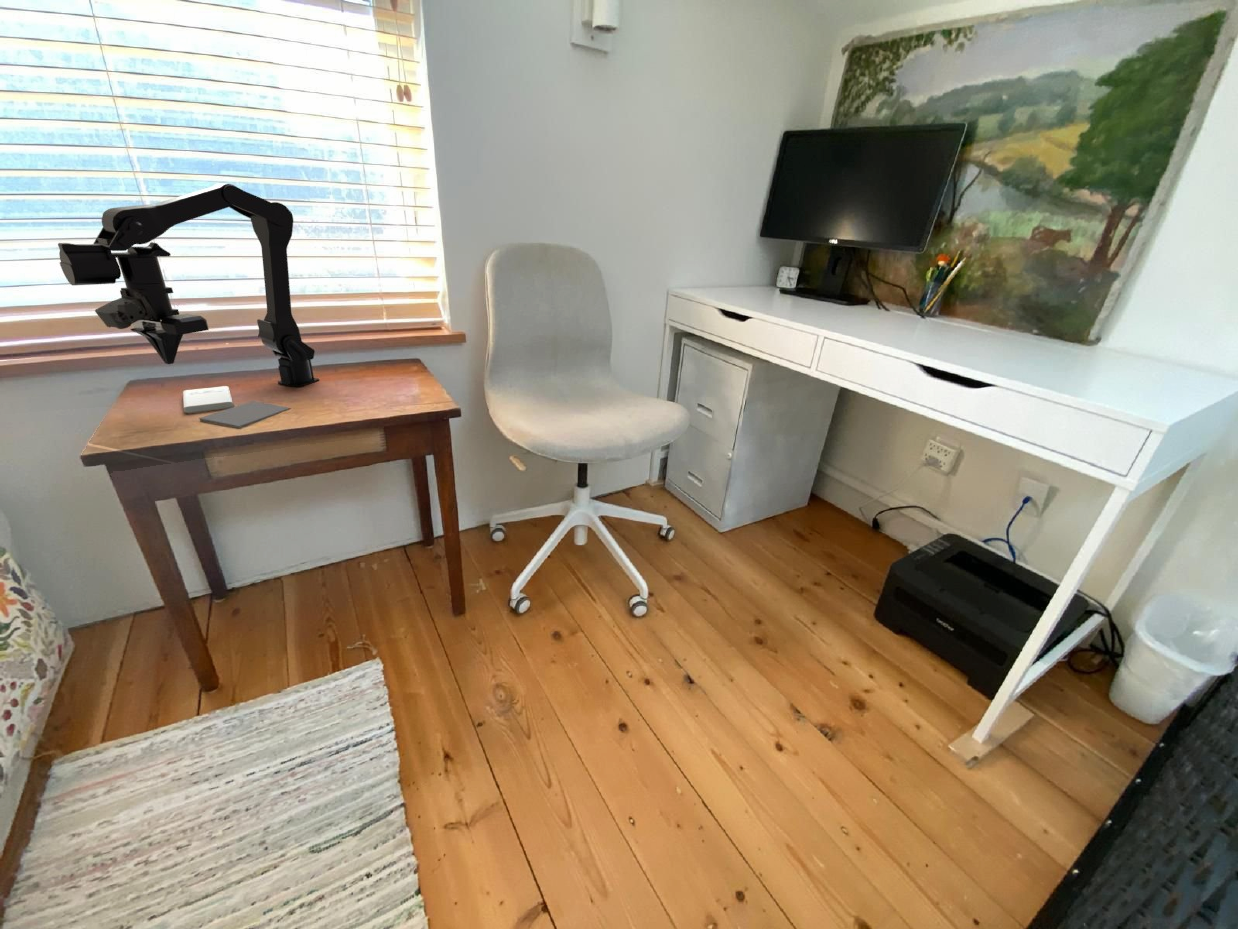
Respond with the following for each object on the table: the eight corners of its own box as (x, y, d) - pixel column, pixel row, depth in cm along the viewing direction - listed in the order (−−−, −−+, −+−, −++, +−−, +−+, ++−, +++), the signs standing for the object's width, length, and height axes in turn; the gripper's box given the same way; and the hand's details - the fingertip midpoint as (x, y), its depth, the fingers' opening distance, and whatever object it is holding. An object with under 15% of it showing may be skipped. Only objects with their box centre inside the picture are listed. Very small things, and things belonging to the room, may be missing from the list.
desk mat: (253, 403, 116) (252, 400, 115) (290, 410, 113) (290, 407, 113) (200, 420, 105) (199, 418, 105) (240, 428, 103) (239, 426, 102)
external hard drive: (185, 414, 108) (184, 396, 116) (234, 408, 112) (229, 392, 121) (183, 406, 107) (182, 389, 116) (232, 401, 112) (228, 385, 120)
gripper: (57, 281, 95) (89, 366, 101) (135, 291, 90) (163, 380, 97) (126, 276, 104) (150, 354, 111) (199, 285, 100) (220, 366, 107)
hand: (169, 363), depth 106 cm, fingers closed
